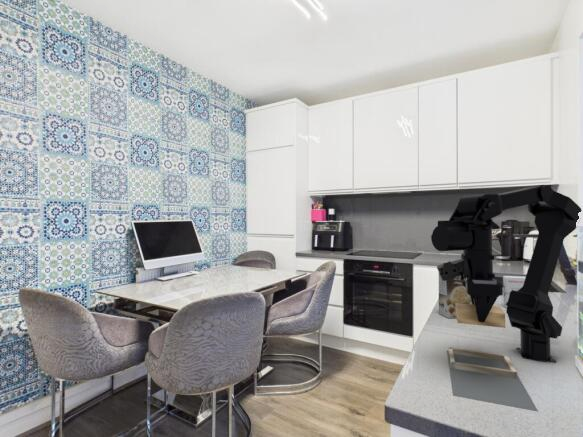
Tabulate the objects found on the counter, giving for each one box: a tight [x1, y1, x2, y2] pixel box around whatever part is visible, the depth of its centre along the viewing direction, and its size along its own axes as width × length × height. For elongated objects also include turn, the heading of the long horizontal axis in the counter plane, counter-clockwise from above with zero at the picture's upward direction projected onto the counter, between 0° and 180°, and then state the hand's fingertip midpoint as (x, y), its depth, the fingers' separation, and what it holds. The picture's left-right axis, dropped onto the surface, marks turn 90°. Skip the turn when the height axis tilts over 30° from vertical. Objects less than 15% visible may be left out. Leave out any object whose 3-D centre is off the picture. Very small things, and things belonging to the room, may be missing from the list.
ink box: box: [502, 275, 526, 310], centre depth 117 cm, size 9×5×12 cm, turn 67°
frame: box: [448, 347, 518, 378], centre depth 71 cm, size 9×12×1 cm
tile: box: [455, 303, 506, 329], centre depth 71 cm, size 9×6×3 cm, turn 66°
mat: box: [446, 350, 539, 412], centre depth 66 cm, size 22×13×1 cm, turn 156°
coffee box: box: [438, 273, 472, 319], centre depth 109 cm, size 9×6×16 cm
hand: (479, 317), depth 71 cm, fingers closed on tile, 6 cm apart
